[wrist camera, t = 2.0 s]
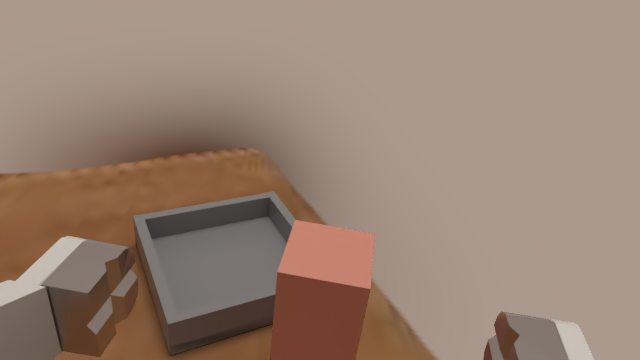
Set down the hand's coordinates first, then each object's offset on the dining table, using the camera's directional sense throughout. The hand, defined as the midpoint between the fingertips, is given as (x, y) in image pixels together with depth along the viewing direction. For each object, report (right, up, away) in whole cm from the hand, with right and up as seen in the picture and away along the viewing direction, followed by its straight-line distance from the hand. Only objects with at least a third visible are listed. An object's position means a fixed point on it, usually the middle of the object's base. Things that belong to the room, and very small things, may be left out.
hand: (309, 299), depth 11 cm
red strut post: (-1, -11, +21) cm, 24 cm away
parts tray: (-7, -5, +30) cm, 31 cm away
